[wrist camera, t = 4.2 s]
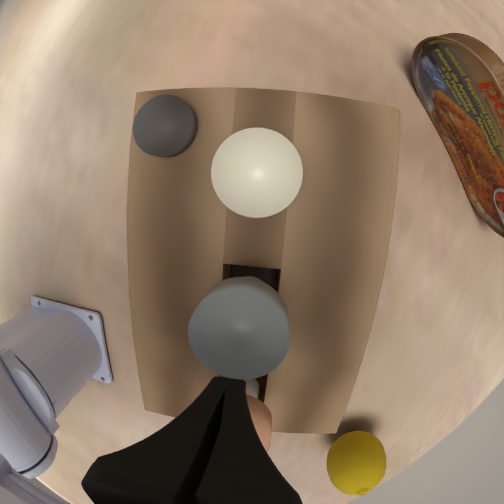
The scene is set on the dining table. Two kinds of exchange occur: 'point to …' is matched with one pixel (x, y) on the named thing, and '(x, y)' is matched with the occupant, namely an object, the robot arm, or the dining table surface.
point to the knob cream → (256, 172)
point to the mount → (260, 241)
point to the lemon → (356, 462)
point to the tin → (467, 114)
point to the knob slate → (240, 328)
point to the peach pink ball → (259, 413)
